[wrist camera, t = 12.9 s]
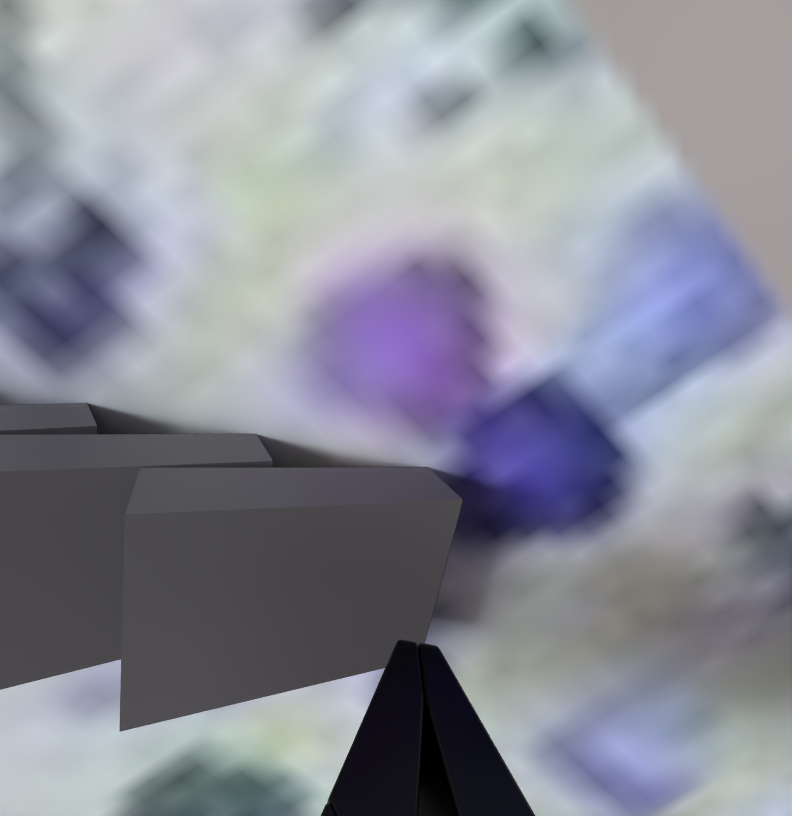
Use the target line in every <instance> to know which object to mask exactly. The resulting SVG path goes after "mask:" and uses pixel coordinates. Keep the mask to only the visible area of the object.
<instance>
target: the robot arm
mask: <svg viewBox="0 0 792 816" xmlns="http://www.w3.org/2000/svg"><path fill="white" fill-rule="evenodd" d="M321 816H535V814H534V813H533V811H532V809H531V807H530V806H529V804H528V802H527V800H526V799H525V797H524V795H523V793H522V792H521V790H520V788H519V786H518V785H517V783H516V781H515V779H514V778H513V776H512V774H511V773H510V771H509V769H508V767H507V766H506V764H505V762H504V760H503V759H502V757H501V755H500V753H499V752H498V750H497V748H496V746H495V745H494V743H493V741H492V739H491V738H490V736H489V734H488V732H487V731H486V729H485V727H484V725H483V724H482V722H481V720H480V718H479V717H478V715H477V713H476V711H475V710H474V708H473V706H472V704H471V703H470V701H469V699H468V697H467V696H466V694H465V692H464V691H463V689H462V687H461V685H460V684H459V682H458V680H457V678H456V677H455V675H454V673H453V671H452V670H451V668H450V666H449V664H448V663H447V661H446V659H445V657H444V656H443V654H442V652H441V650H440V649H439V648H438V647H437V646H435V645H429V644H424V643H420V644H418V645H417V643H416V642H412V641H407V640H401V639H400V640H398V641H397V643H396V645H395V647H394V650H393V652H392V654H391V656H390V659H389V661H388V663H387V666H386V668H385V670H384V672H383V675H382V677H381V679H380V682H379V684H378V686H377V689H376V691H375V693H374V695H373V698H372V700H371V702H370V705H369V707H368V709H367V711H366V714H365V716H364V718H363V721H362V723H361V725H360V728H359V730H358V732H357V734H356V737H355V739H354V741H353V744H352V746H351V748H350V750H349V753H348V755H347V757H346V760H345V762H344V764H343V767H342V769H341V771H340V773H339V776H338V778H337V780H336V783H335V785H334V787H333V789H332V792H331V794H330V796H329V799H328V802H327V804H326V805H325V807H324V809H323V812H322V814H321Z"/></svg>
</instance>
